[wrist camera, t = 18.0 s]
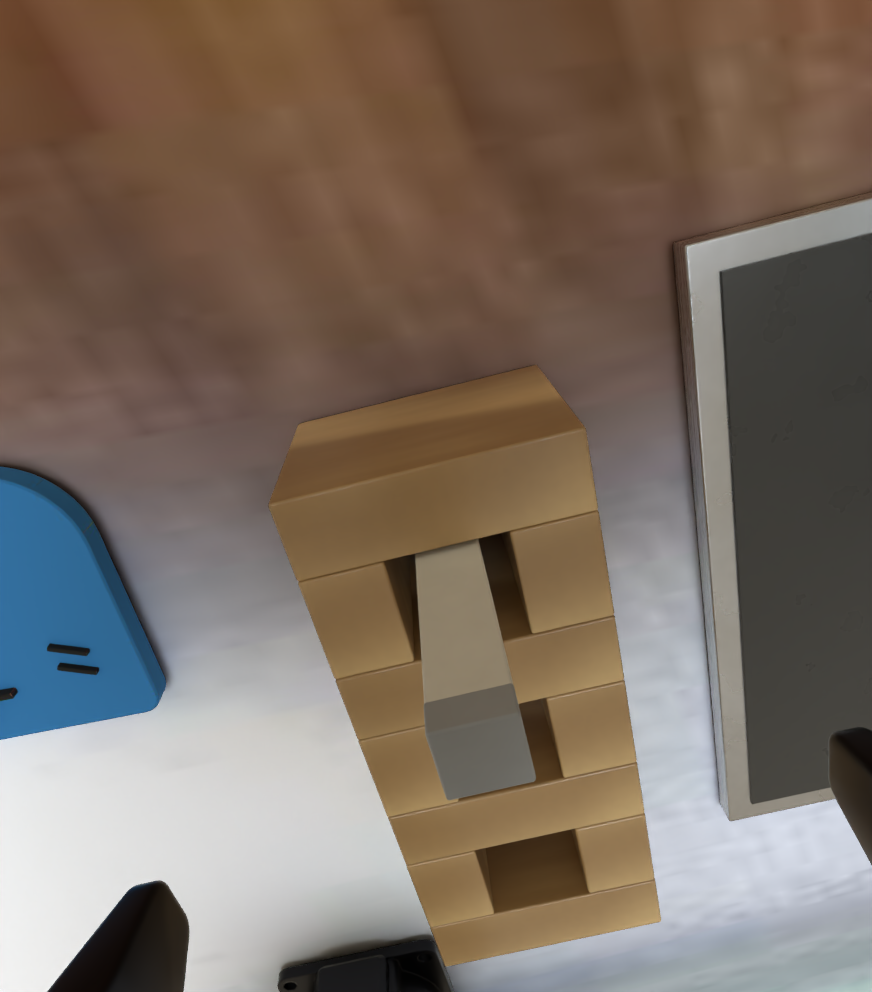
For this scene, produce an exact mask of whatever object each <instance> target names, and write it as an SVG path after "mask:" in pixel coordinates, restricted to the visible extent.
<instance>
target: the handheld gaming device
mask: <svg viewBox="0 0 872 992" xmlns="http://www.w3.org/2000/svg"><path fill="white" fill-rule="evenodd" d="M165 687H166V680H165V677H164V675H163V672H162V670H161V668H160V666H159V664H158V661H157V659H156V657H155V655H154V653H153V650H152V648H151V646H150V644H149V642H148V639H147V637H146V635H145V633H144V630H143V628H142V626H141V624H140V622H139V619H138V617H137V615H136V613H135V611H134V608H133V606H132V604H131V602H130V600H129V597H128V595H127V593H126V591H125V589H124V586H123V584H122V582H121V580H120V578H119V575H118V573H117V571H116V569H115V566H114V564H113V562H112V560H111V558H110V555H109V553H108V551H107V549H106V547H105V544H104V542H103V540H102V538H101V536H100V533H99V531H98V529H97V528H96V526H95V524H94V522H93V520H92V519H91V518H90V516H89V515H88V514H87V512H86V511H85V510H84V508H83V507H82V506H81V505H80V504H79V503H78V502H77V501H76V500H75V499H74V498H73V497H71V496H70V495H69V494H67V493H66V492H65V491H64V490H62V489H61V488H59V487H58V486H56V485H54V484H53V483H51V482H49V481H47V480H45V479H43V478H41V477H39V476H36V475H34V474H31V473H28V472H25V471H21V470H18V469H13V468H7V467H0V740H1V739H7V738H12V737H17V736H23V735H28V734H33V733H38V732H44V731H49V730H54V729H59V728H65V727H70V726H75V725H80V724H86V723H91V722H96V721H101V720H107V719H112V718H117V717H122V716H128V715H133V714H138V713H143V712H148V711H151V710H153V709H154V708H155V707H156V706H157V705H158V703H159V701H160V699H161V697H162V694H163V692H164V690H165Z"/></svg>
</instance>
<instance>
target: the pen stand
mask: <svg viewBox="0 0 872 992" xmlns="http://www.w3.org/2000/svg"><path fill="white" fill-rule="evenodd" d="M268 507H269V509H270V512H271V515H272V517H273V520H274V522H275V525H276V528H277V530H278V533H279V535H280V538H281V541H282V543H283V546H284V548H285V551H286V554H287V556H288V559H289V561H290V564H291V567H292V569H293V572H294V574H295V577H296V579H297V580H298V581H299V582H298V585H299V587H300V590H301V593H302V595H303V598H304V600H305V603H306V606H307V608H308V611H309V613H310V616H311V619H312V621H313V624H314V626H315V629H316V632H317V634H318V637H319V639H320V642H321V645H322V647H323V650H324V652H325V655H326V658H327V660H328V663H329V665H330V668H331V671H332V673H333V676H334V678H335V679H336V684H337V686H338V689H339V691H340V694H341V697H342V699H343V702H344V704H345V707H346V710H347V712H348V715H349V717H350V720H351V723H352V725H353V728H354V730H355V733H356V736H357V738H358V739H359V744H360V746H361V749H362V752H363V754H364V757H365V759H366V762H367V765H368V767H369V770H370V772H371V775H372V778H373V780H374V783H375V785H376V788H377V791H378V793H379V796H380V798H381V801H382V804H383V806H384V809H385V811H386V814H387V816H388V819H389V821H390V824H391V826H392V829H393V832H394V834H395V837H396V839H397V842H398V845H399V847H400V850H401V852H402V855H403V858H404V860H405V863H406V864H407V869H408V871H409V874H410V876H411V879H412V882H413V884H414V887H415V889H416V892H417V895H418V897H419V900H420V902H421V905H422V908H423V910H424V913H425V915H426V918H427V921H428V923H429V926H430V928H431V931H432V934H433V936H434V939H435V941H436V944H437V947H438V949H439V952H440V954H441V957H442V960H443V962H444V965H445V966H452V965H457V964H461V963H466V962H471V961H476V960H480V959H485V958H490V957H495V956H499V955H504V954H509V953H514V952H519V951H523V950H528V949H533V948H538V947H542V946H547V945H552V944H557V943H561V942H566V941H571V940H576V939H581V938H585V937H590V936H595V935H600V934H604V933H609V932H614V931H619V930H623V929H628V928H633V927H638V926H643V925H647V924H652V923H657V922H660V921H661V915H660V909H659V902H658V896H657V889H656V883H655V878H654V871H653V864H652V858H651V851H650V845H649V838H648V832H647V825H646V819H645V813H644V805H643V799H642V792H641V786H640V779H639V773H638V766H637V762H636V752H635V746H634V739H633V733H632V726H631V720H630V713H629V707H628V700H627V694H626V687H625V681H624V674H623V668H622V661H621V655H620V648H619V642H618V635H617V629H616V622H615V616H614V608H613V602H612V595H611V589H610V582H609V576H608V569H607V563H606V556H605V550H604V543H603V537H602V530H601V523H600V517H599V512H598V510H597V508H598V505H597V498H596V491H595V485H594V478H593V472H592V465H591V459H590V452H589V446H588V439H587V433H586V428H585V427H584V425H583V424H582V423H581V422H580V420H579V419H578V418H577V416H576V415H575V414H574V412H573V411H572V410H571V409H570V407H569V406H568V405H567V403H566V402H565V401H564V400H563V398H562V397H561V396H560V394H559V393H558V392H557V390H556V389H555V388H554V387H553V385H552V384H551V383H550V381H549V380H548V379H547V378H546V376H545V375H544V374H543V372H542V371H541V370H540V368H539V367H538V366H537V365H533V366H529V367H525V368H521V369H517V370H513V371H509V372H505V373H501V374H497V375H493V376H489V377H485V378H481V379H477V380H473V381H469V382H465V383H461V384H457V385H453V386H449V387H445V388H441V389H437V390H433V391H429V392H425V393H421V394H417V395H413V396H409V397H405V398H401V399H397V400H393V401H389V402H385V403H381V404H377V405H373V406H369V407H365V408H361V409H357V410H353V411H349V412H345V413H341V414H336V415H332V416H328V417H324V418H320V419H316V420H312V421H308V422H304V423H300V424H299V425H298V427H297V429H296V432H295V435H294V437H293V440H292V443H291V445H290V448H289V451H288V453H287V456H286V459H285V461H284V464H283V467H282V469H281V472H280V475H279V477H278V480H277V483H276V485H275V488H274V491H273V493H272V496H271V499H270V501H269V504H268ZM474 539H478V540H479V544H480V548H481V552H482V556H483V560H484V565H485V569H486V573H487V577H488V581H489V585H490V590H491V594H492V598H493V602H494V606H495V610H496V615H497V619H498V623H499V627H500V631H501V635H502V640H503V644H504V648H505V652H506V656H507V660H508V665H509V669H510V673H511V677H512V681H513V685H514V688H515V692H516V696H517V700H518V704H519V708H520V713H521V717H522V721H523V725H524V729H525V733H526V737H527V741H528V745H529V749H530V754H531V758H532V762H533V766H534V770H535V774H536V780H535V781H534V782H530V783H526V784H521V785H517V786H512V787H508V788H503V789H499V790H494V791H490V792H485V793H481V794H476V795H472V796H467V797H463V798H458V799H454V800H447V798H446V796H445V793H444V790H443V787H442V784H441V781H440V778H439V775H438V772H437V769H436V766H435V763H434V760H433V757H432V754H431V751H430V748H429V745H428V742H427V739H426V736H425V722H424V691H423V675H422V659H421V643H420V627H419V611H418V595H417V580H416V564H415V554H416V553H420V552H424V551H428V550H432V549H436V548H441V547H445V546H449V545H453V544H457V543H462V542H466V541H470V540H474Z"/></svg>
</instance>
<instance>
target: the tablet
mask: <svg viewBox="0 0 872 992" xmlns="http://www.w3.org/2000/svg"><path fill="white" fill-rule="evenodd" d="M673 250H674V261H675V273H676V285H677V297H678V308H679V320H680V332H681V344H682V356H683V367H684V379H685V391H686V403H687V415H688V426H689V438H690V450H691V462H692V474H693V485H694V497H695V509H696V521H697V533H698V544H699V556H700V568H701V580H702V592H703V603H704V615H705V627H706V639H707V651H708V662H709V674H710V686H711V698H712V710H713V721H714V733H715V745H716V757H717V769H718V780H719V792H720V804H721V806H722V808H723V810H724V812H725V814H726V816H727V818H728V820H729V821H735V820H739V819H744V818H749V817H753V816H758V815H762V814H767V813H772V812H776V811H781V810H786V809H790V808H795V807H800V806H804V805H809V804H814V803H818V802H823V801H827V800H832V799H836V798H835V796H834V794H833V792H832V789H831V786H830V783H829V777H828V757H829V737H830V736H831V734H832V733H834V732H837V731H841V730H846V729H850V728H855V727H864V728H867V729H869V730H871V731H872V192H869V193H865V194H861V195H857V196H853V197H850V198H846V199H842V200H838V201H834V202H830V203H826V204H822V205H818V206H814V207H810V208H806V209H803V210H799V211H795V212H791V213H787V214H783V215H779V216H775V217H771V218H767V219H763V220H759V221H756V222H752V223H748V224H744V225H740V226H736V227H732V228H728V229H724V230H720V231H716V232H712V233H709V234H705V235H701V236H697V237H693V238H689V239H685V240H681V241H677V242H675V243H674V244H673Z"/></svg>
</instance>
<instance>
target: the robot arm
mask: <svg viewBox="0 0 872 992" xmlns="http://www.w3.org/2000/svg"><path fill="white" fill-rule="evenodd" d="M828 777H829V783H830V786H831V789H832V792H833V794H834V796H835V798H836V800H837V802H838V804H839V806H840V808H841V809H842V811H843V813H844V815H845V817H846V819H847V820H848V822H849V824H850V826H851V828H852V830H853V832H854V833H855V835H856V837H857V839H858V841H859V843H860V844H861V846H862V848H863V850H864V852H865V854H866V855H867V857H868V859H869V861H870V863H871V865H872V731H871V730H869V729H867V728H864V727H855V728H850V729H846V730H841V731H837V732H834V733H832V734H831V736H830V737H829V757H828ZM188 943H189V923H188V919H187V916H186V914H185V912H184V911H183V909H182V908H181V906H180V904H179V903H178V901H177V900H176V898H175V896H174V895H173V893H172V892H171V890H170V888H169V887H168V885H167V884H166V883H165V882H163V881H153V882H149V883H144V884H140V885H136V886H134V887H132V888H131V889H130V890H129V891H128V892H127V893H126V894H125V895H124V896H123V897H122V899H121V900H120V901H119V902H118V904H117V905H116V906H115V907H114V909H113V910H112V911H111V912H110V914H109V915H108V916H107V918H106V919H105V920H104V921H103V923H102V924H101V925H100V926H99V928H98V929H97V930H96V931H95V933H94V934H93V935H92V936H91V938H90V939H89V940H88V941H87V943H86V944H85V945H84V946H83V948H82V949H81V950H80V951H79V953H78V954H77V955H76V956H75V958H74V959H73V960H72V961H71V963H70V964H69V965H68V966H67V968H66V969H65V970H64V971H63V973H62V974H61V975H60V976H59V978H58V979H57V980H56V981H55V983H54V984H53V985H52V986H51V988H50V989H49V990H48V991H47V992H183V991H184V981H185V972H186V962H187V952H188ZM278 989H279V991H280V992H454V989H453V987H452V984H451V982H450V979H449V976H448V974H447V971H446V969H445V966H444V963H443V961H442V958H441V956H440V953H439V950H438V948H437V945H436V944H435V942H433V941H431V940H418V941H414V942H409V943H404V944H399V945H395V946H390V947H385V948H381V949H376V950H371V951H366V952H362V953H357V954H352V955H348V956H343V957H338V958H333V959H329V960H324V961H319V962H315V963H310V964H305V965H300V966H296V967H291V968H287V969H284V970H282V971H281V972H280V974H279V979H278Z"/></svg>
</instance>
